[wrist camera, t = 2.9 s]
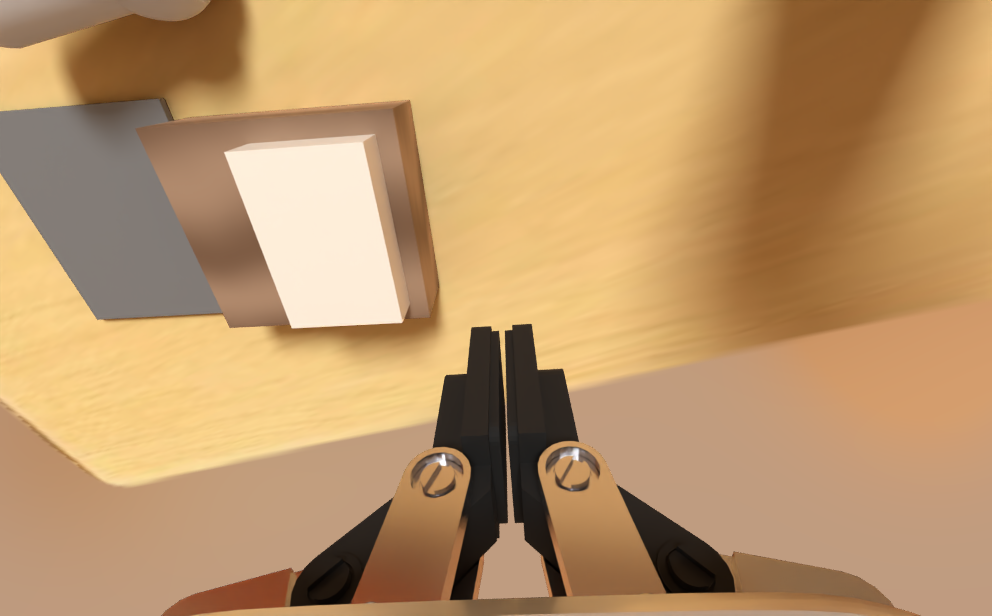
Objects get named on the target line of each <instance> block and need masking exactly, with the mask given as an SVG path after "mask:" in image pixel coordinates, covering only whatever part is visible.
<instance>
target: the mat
mask: <svg viewBox="0 0 992 616" xmlns="http://www.w3.org/2000/svg"><path fill="white" fill-rule="evenodd" d="M170 121H174V120H173V118H172V116H171V113H170V111H169V109H168V106H167V104H166V102H165V99H164V98H161V99H148V100H136V101H124V102H111V103H99V104H87V105H74V106H62V107H50V108H38V109H25V110H13V111H1V112H0V173H1V175H2V176H3V178H4V179H5V181H6V182H7V184H8V185H9V187H10V188H11V190H12V191H13V193H14V194H15V196H16V198H17V199H18V201H19V202H20V204H21V205H22V207H23V208H24V210H25V211H26V213H27V214H28V216H29V217H30V219H31V220H32V222H33V223H34V225H35V226H36V228H37V229H38V231H39V232H40V234H41V235H42V237H43V238H44V240H45V241H46V243H47V244H48V246H49V247H50V249H51V250H52V252H53V253H54V255H55V256H56V258H57V259H58V261H59V263H60V264H61V266H62V267H63V269H64V270H65V272H66V273H67V275H68V276H69V278H70V279H71V281H72V282H73V284H74V285H75V287H76V288H77V290H78V291H79V293H80V294H81V296H82V297H83V299H84V300H85V302H86V303H87V305H88V306H89V308H90V309H91V311H92V312H93V314H94V315H95V317H96V318H97V320H99V319H118V318H136V317H155V316H174V315H192V314H211V313H222V310H221V308H220V306H219V304H218V302H217V300H216V298H215V296H214V294H213V292H212V289H211V287H210V285H209V283H208V281H207V279H206V277H205V275H204V273H203V271H202V268H201V266H200V264H199V262H198V260H197V258H196V256H195V254H194V252H193V249H192V247H191V245H190V243H189V241H188V239H187V237H186V235H185V233H184V231H183V228H182V226H181V224H180V222H179V220H178V218H177V216H176V214H175V212H174V210H173V207H172V205H171V203H170V201H169V199H168V197H167V195H166V193H165V191H164V188H163V186H162V184H161V182H160V180H159V178H158V176H157V174H156V172H155V170H154V167H153V165H152V163H151V161H150V159H149V157H148V155H147V153H146V151H145V149H144V146H143V144H142V142H141V140H140V138H139V136H138V134H137V132H136V130H135V128H140V127H145V126H150V125H155V124H160V123H165V122H170Z"/></svg>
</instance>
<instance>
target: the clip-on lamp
mask: <svg viewBox="0 0 992 616" xmlns="http://www.w3.org/2000/svg"><path fill="white" fill-rule="evenodd" d="M210 1H211V0H0V47H6V48H23V47H27V46H30V45H33V44H36V43H40V42H43V41H46V40H50V39H53V38H56V37H59V36H63V35H66V34H69V33H72V32H76V31H79V30H82V29H86V28H89V27H92V26H95V25H99V24H102V23H105V22H108V21H112V20H115V19H118V18H122V17H125V16H128V15H131V14H137V15H140V16H143V17H147V18H150V19H156V20H163V21H181V20H186V19H189V18H192V17H194V16H196V15H198V14H199V13H200V12H202V11H203V10H204V9H205V8H206V6H207V5H208V4H209V3H210Z"/></svg>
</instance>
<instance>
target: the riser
mask: <svg viewBox="0 0 992 616" xmlns="http://www.w3.org/2000/svg"><path fill="white" fill-rule="evenodd" d="M135 130H136V132H137V134H138V136H139V138H140V140H141V142H142V144H143V146H144V149H145V151H146V153H147V155H148V157H149V159H150V161H151V163H152V165H153V167H154V170H155V172H156V174H157V176H158V178H159V180H160V182H161V184H162V186H163V188H164V191H165V193H166V195H167V197H168V199H169V201H170V203H171V205H172V207H173V210H174V212H175V214H176V216H177V218H178V220H179V222H180V224H181V226H182V228H183V231H184V233H185V235H186V237H187V239H188V241H189V243H190V245H191V247H192V249H193V252H194V254H195V256H196V258H197V260H198V262H199V264H200V266H201V268H202V271H203V273H204V275H205V277H206V279H207V281H208V283H209V285H210V287H211V289H212V292H213V294H214V296H215V298H216V300H217V302H218V304H219V306H220V308H221V310H222V313H223V315H224V317H225V319H226V321H227V323H228V325H229V327H230V328H237V327H256V326H275V325H290V322H289V320H288V317H287V315H286V312H285V309H284V307H283V304H282V302H281V299H280V296H279V294H278V291H277V289H276V286H275V283H274V281H273V278H272V276H271V273H270V270H269V268H268V265H267V263H266V260H265V257H264V255H263V252H262V250H261V247H260V244H259V242H258V239H257V237H256V234H255V231H254V229H253V226H252V224H251V221H250V218H249V216H248V213H247V211H246V208H245V205H244V203H243V200H242V198H241V195H240V192H239V190H238V187H237V185H236V182H235V179H234V177H233V174H232V172H231V169H230V166H229V164H228V161H227V159H226V156H225V153H224V152H226V151H229V150H232V149H235V148H237V147H240V146H243V145H246V144H250V143H264V142H277V141H291V140H304V139H317V138H331V137H344V136H358V135H371V134H375V135H376V140H377V144H378V149H379V154H380V159H381V164H382V169H383V174H384V179H385V184H386V189H387V193H388V198H389V203H390V208H391V213H392V218H393V223H394V228H395V233H396V237H397V242H398V247H399V252H400V257H401V262H402V267H403V272H404V277H405V282H406V286H407V291H408V296H409V301H410V305H409V307H408V310H407V313H406V315H405V318H404V319H411V318H430V316H431V313H432V309H433V305H434V302H435V298H436V295H437V291H438V288H439V280H438V274H437V268H436V261H435V255H434V249H433V242H432V236H431V230H430V224H429V217H428V211H427V205H426V198H425V192H424V186H423V179H422V173H421V167H420V161H419V154H418V148H417V142H416V135H415V129H414V123H413V116H412V110H411V104H410V100H405V101H392V102H380V103H367V104H354V105H341V106H329V107H316V108H303V109H291V110H278V111H265V112H252V113H240V114H227V115H214V116H201V117H190V118H185V119H180V120H175V121H170V122H165V123H160V124H155V125H150V126H145V127H140V128H135Z"/></svg>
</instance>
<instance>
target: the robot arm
mask: <svg viewBox="0 0 992 616" xmlns="http://www.w3.org/2000/svg"><path fill="white" fill-rule="evenodd" d="M512 329H513V330H508V331H505V352H506V389H507V425H508V443H509V456H510V469H511V480H512V494H513V506H514V518H515V523H524V533H525V534H524V535H525V540H526V542H528V543H529V544H530V545H531V546H532V547H533V548H534V549H536V550H537V551H538V552H539V553H540V554H541V562H542V567H543V571H544V576H545V580H546V584H547V588H548V592H549V597H541V598H540V597H538V598H508V599H478V594H479V588H480V582H481V577H482V571H483V565H484V554H485V553H486V552H487V550H489V549H490V547H491V546H492V545H493V544H494V543H495V542H496V541H497V538H499V524H500V523H508V511H507V464H506V420H505V419H506V418H505V399H504V387H503V375H502V362H501V350H500V337H499V331H492V329H491V326H488V327H472V328H471V338H470V348H469V358H468V368H467V374H458V375H446V376H445V379H444V385H443V390H442V396H441V402H440V408H439V414H438V420H437V426H436V432H435V438H434V444H433V448H432V449H429V450H426V451H424V452H422V453H421V454H419V455H417V456H416V457H415V458H414V459H413V460H412V461H411V462H410V463H409V464H408V466H407V468H406V469H405V471H404V473H403V476H402V479H401V481H400V483H399V486H398V488H397V491H396V493H395V495H394V497H393V498H392V499H391V500H389V501H388V502H387V503H385V504H384V505H383V506H381V507H380V508H379V509H378V510H376V511H375V512H374V513H372V514H371V515H370V516H369V517H367V518H366V519H365V520H364V521H362V522H361V523H360V524H358V525H357V526H356V527H354V528H353V529H352V530H350V531H349V532H348V533H347V534H345V535H344V536H343V537H342V538H340V539H339V540H338V541H336V542H335V543H334V544H333V545H331V546H330V547H329V548H327V549H326V550H325V551H323V552H322V553H321V554H320V555H318V556H317V557H316V558H315V559H313V560H312V561H311V562H310V563H309V564H308V565H307V566H306V567H305V568H304V570H301V571H298V572H294V571H293V570H292V568H288V569H284V570H281V571H277V572H273V573H270V574H266V575H262V576H259V577H255V578H251V579H248V580H244V581H240V582H236V583H233V584H229V585H225V586H222V587H218V588H214V589H211V590H207V591H203V592H199V593H196V594H193V595H191V596H188V597H186V598H184V599H181V600H179V601H178V602H177V603H175V604H174V605H173V606H171V607H170V608H169V609H167V610H166V611H165V612H164V613H163V614H162V615H161V616H921V615H918V614H915V613H912V612H909V611H905V610H902V609H898V608H895V607H894V606H893V605H892V603H891V602H890V601H889V600H888V599H887V598H886V597H885V596H884V595H883V594H882V593H881V592H880V591H879V590H877V588H875V587H874V586H872V585H871V584H869V583H867V582H866V581H864V580H862V579H861V578H859V577H857V576H854V575H851V574H848V573H845V572H842V571H836V570H831V569H826V568H820V567H815V566H810V565H803V564H798V563H793V562H787V561H782V560H777V559H771V558H766V557H761V556H755V555H749V554H745V553H739V552H733V555H732V556H726V555H721V554H719V553H718V552H717V551H715V550H714V549H713V548H712V547H710V546H709V545H708V544H707V543H705V542H704V541H702V540H700V539H699V538H698V537H696V536H695V535H693V534H692V533H690V532H689V531H687V530H685V529H684V528H682V527H681V526H679V525H678V524H676V523H674V522H673V521H672V520H670V519H669V518H667V517H666V516H664V515H663V514H661V513H659V512H658V511H656V510H655V509H653V508H652V507H650V506H649V505H647V504H646V503H644V502H642V501H641V500H639V499H638V498H637V497H635V496H633V495H632V494H630V493H629V492H627V491H626V490H624V489H623V488H621V487H620V486H618V485H617V484H616V483H615V481H614V479H613V476H612V474H611V472H610V470H609V468H608V466H607V463H606V461H605V460H604V459H603V457H602V456H601V454H600V453H599V452H597V451H596V450H595V449H593V447H590V446H588V445H586V444H584V443H580V442H579V440H578V436H577V431H576V427H575V422H574V417H573V413H572V408H571V403H570V398H569V394H568V389H567V384H566V380H565V375H564V371H563V369H551V370H538V369H537V362H536V354H535V346H534V339H533V331H532V324H523V325H512Z"/></svg>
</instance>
